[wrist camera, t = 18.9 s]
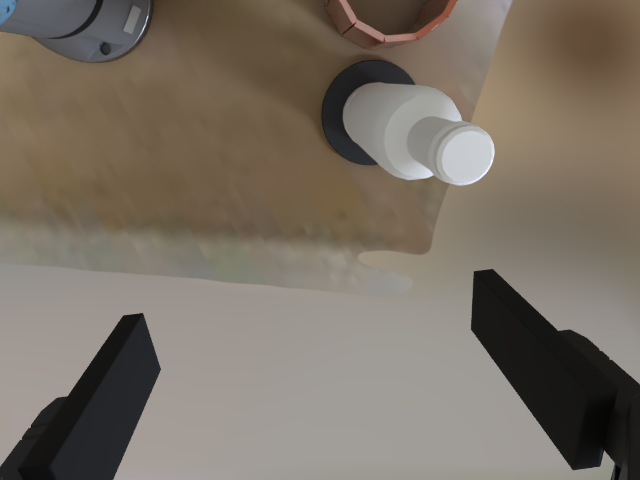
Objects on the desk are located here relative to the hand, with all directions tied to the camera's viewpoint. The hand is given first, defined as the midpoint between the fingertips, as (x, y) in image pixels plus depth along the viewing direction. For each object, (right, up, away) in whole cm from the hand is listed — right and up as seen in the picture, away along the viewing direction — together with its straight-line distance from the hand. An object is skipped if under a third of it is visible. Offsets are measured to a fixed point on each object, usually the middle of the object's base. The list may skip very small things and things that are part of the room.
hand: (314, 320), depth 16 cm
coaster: (+7, +20, +36) cm, 42 cm away
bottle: (+7, +19, +36) cm, 42 cm away
